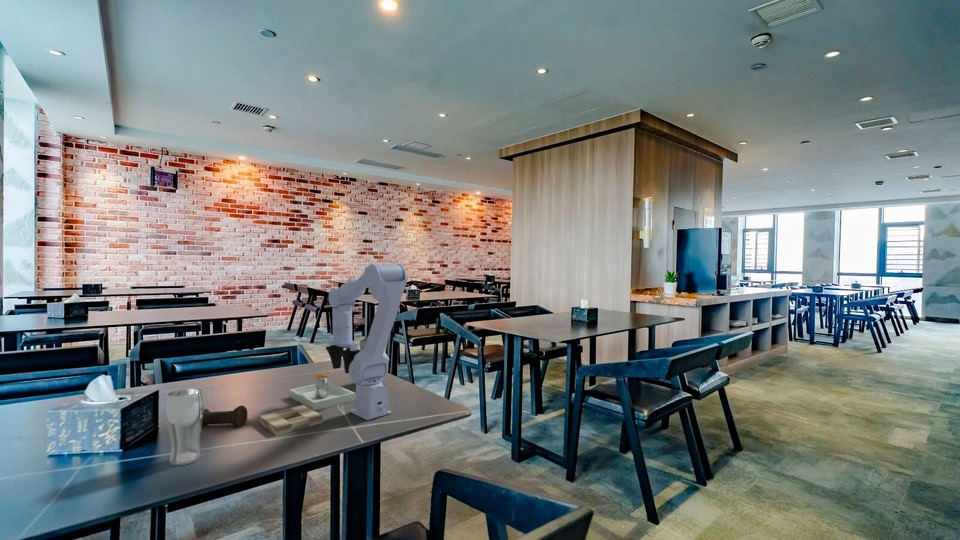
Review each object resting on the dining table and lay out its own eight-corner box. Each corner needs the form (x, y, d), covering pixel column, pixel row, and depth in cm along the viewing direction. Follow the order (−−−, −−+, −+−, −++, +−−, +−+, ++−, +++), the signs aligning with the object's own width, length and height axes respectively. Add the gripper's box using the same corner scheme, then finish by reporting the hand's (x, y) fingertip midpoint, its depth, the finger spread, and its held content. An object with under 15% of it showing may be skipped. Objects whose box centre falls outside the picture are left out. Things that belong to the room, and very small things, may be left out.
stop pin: (329, 397, 138) (329, 375, 138) (318, 399, 136) (318, 377, 135) (324, 394, 141) (323, 372, 141) (313, 397, 138) (313, 375, 138)
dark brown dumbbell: (187, 432, 117) (245, 429, 117) (176, 429, 113) (235, 426, 113) (193, 409, 120) (249, 407, 120) (182, 406, 115) (240, 403, 116)
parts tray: (355, 400, 137) (355, 392, 137) (314, 411, 127) (314, 402, 127) (328, 388, 149) (327, 381, 149) (289, 397, 140) (289, 389, 140)
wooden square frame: (322, 422, 119) (322, 415, 119) (276, 435, 110) (276, 427, 110) (303, 411, 127) (303, 404, 127) (259, 422, 118) (259, 415, 118)
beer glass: (163, 459, 97) (162, 391, 97) (200, 449, 102) (199, 385, 102) (170, 470, 92) (168, 399, 92) (208, 459, 97) (207, 391, 97)
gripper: (319, 325, 138) (319, 368, 139) (342, 331, 128) (342, 377, 129) (340, 323, 144) (340, 364, 144) (363, 328, 133) (363, 372, 134)
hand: (342, 370), depth 137 cm, fingers open, 7 cm apart
